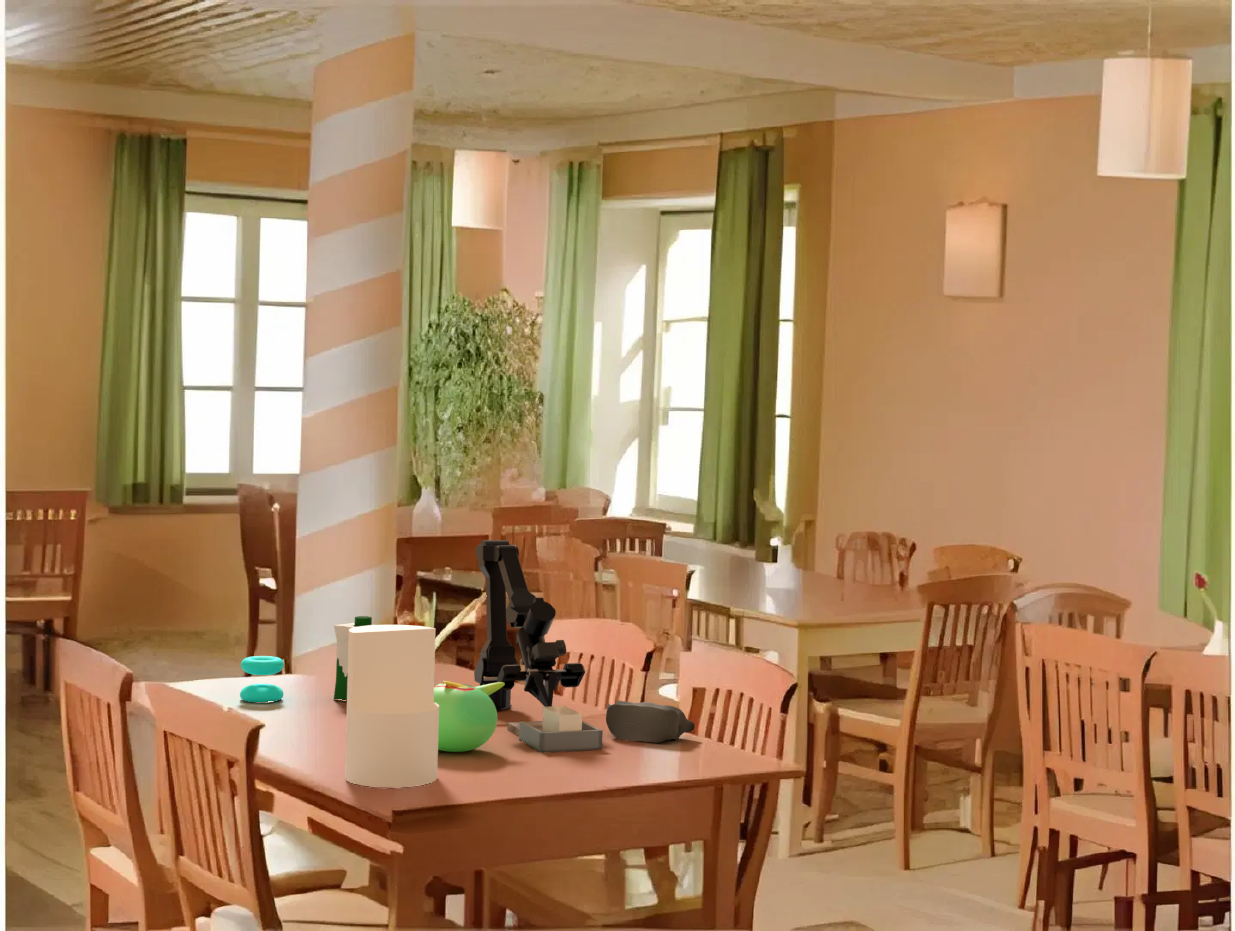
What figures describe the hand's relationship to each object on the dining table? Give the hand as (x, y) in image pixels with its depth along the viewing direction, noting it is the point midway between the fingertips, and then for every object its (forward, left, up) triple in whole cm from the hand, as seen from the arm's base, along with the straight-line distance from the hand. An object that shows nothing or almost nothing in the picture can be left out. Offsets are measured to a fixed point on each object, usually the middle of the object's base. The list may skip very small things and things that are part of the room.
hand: (549, 708), depth 360 cm
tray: (+5, -5, -7) cm, 10 cm away
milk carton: (-59, +18, -7) cm, 63 cm away
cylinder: (-9, -51, -7) cm, 52 cm away
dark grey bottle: (+18, +12, -7) cm, 22 cm away
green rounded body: (-11, -22, -7) cm, 25 cm away
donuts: (-77, +6, -7) cm, 78 cm away
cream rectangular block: (+2, -2, -3) cm, 4 cm away
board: (-4, +4, -7) cm, 9 cm away
